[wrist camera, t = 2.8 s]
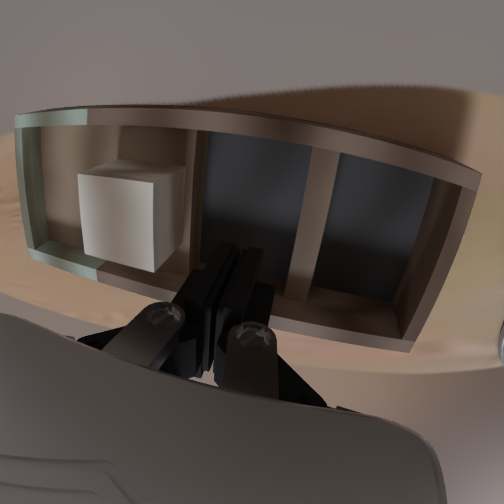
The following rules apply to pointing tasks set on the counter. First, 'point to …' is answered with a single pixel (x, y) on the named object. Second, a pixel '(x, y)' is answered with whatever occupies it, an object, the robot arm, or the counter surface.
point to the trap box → (264, 210)
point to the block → (132, 212)
